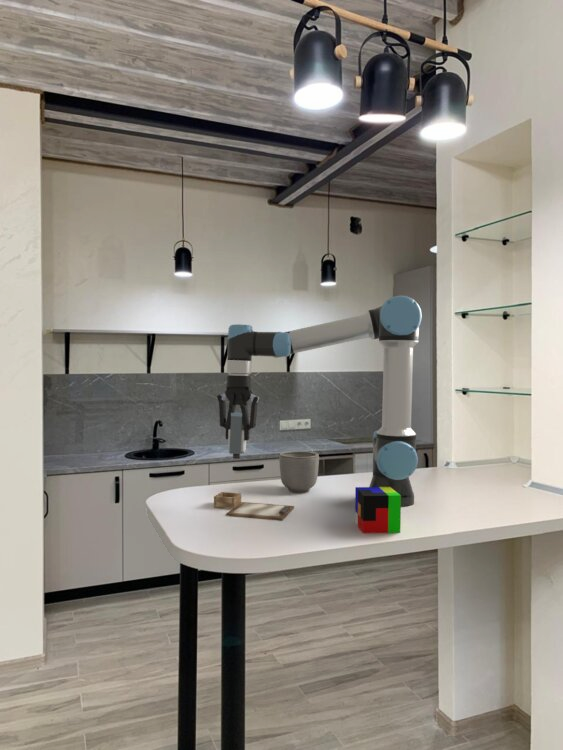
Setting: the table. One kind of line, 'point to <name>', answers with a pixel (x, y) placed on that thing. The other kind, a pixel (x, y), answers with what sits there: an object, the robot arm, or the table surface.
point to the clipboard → (261, 511)
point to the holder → (227, 500)
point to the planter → (299, 470)
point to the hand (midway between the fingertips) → (237, 450)
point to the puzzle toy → (377, 509)
